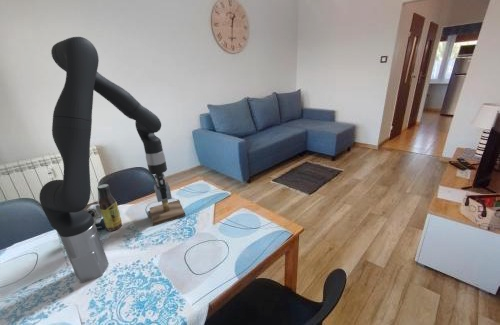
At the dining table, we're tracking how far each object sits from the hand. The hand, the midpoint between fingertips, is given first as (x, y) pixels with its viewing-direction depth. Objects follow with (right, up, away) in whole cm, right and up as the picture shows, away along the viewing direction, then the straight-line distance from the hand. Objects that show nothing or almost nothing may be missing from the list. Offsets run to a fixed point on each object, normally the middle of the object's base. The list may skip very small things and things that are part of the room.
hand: (163, 195), depth 106 cm
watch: (-26, -14, -5) cm, 30 cm away
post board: (+1, -9, +3) cm, 9 cm away
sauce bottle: (-19, -13, -5) cm, 24 cm away
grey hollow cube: (0, -1, 0) cm, 1 cm away
